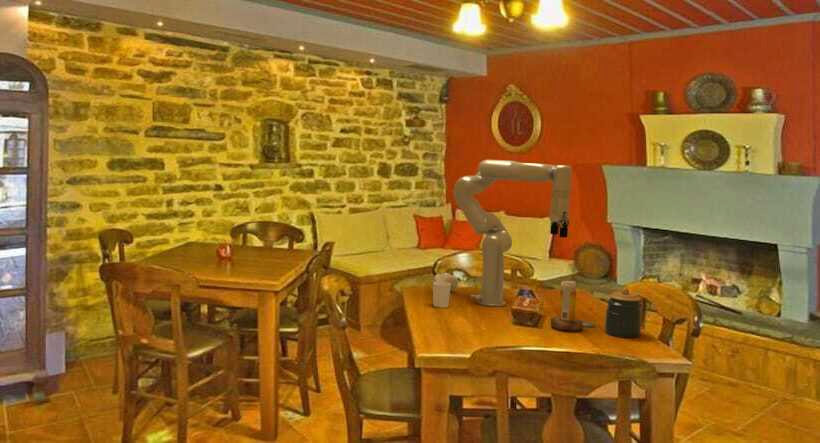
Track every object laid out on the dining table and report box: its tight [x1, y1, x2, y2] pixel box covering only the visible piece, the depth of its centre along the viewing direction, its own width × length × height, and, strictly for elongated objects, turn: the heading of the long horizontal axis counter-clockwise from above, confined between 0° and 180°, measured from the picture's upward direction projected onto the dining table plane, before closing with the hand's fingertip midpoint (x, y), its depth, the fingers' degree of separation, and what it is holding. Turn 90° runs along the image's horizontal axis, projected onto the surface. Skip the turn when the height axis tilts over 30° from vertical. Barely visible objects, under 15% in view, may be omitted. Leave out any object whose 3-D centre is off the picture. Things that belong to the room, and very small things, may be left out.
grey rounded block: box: [434, 272, 459, 292], centre depth 289 cm, size 11×12×9 cm
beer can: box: [557, 280, 578, 322], centre depth 233 cm, size 6×6×15 cm
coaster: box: [582, 320, 596, 328], centre depth 239 cm, size 7×7×1 cm
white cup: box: [432, 281, 451, 309], centre depth 261 cm, size 8×8×10 cm
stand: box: [550, 316, 584, 333], centre depth 233 cm, size 12×12×3 cm
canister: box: [604, 287, 644, 339], centre depth 228 cm, size 13×13×18 cm
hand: (558, 235), depth 252 cm, fingers open, 9 cm apart
